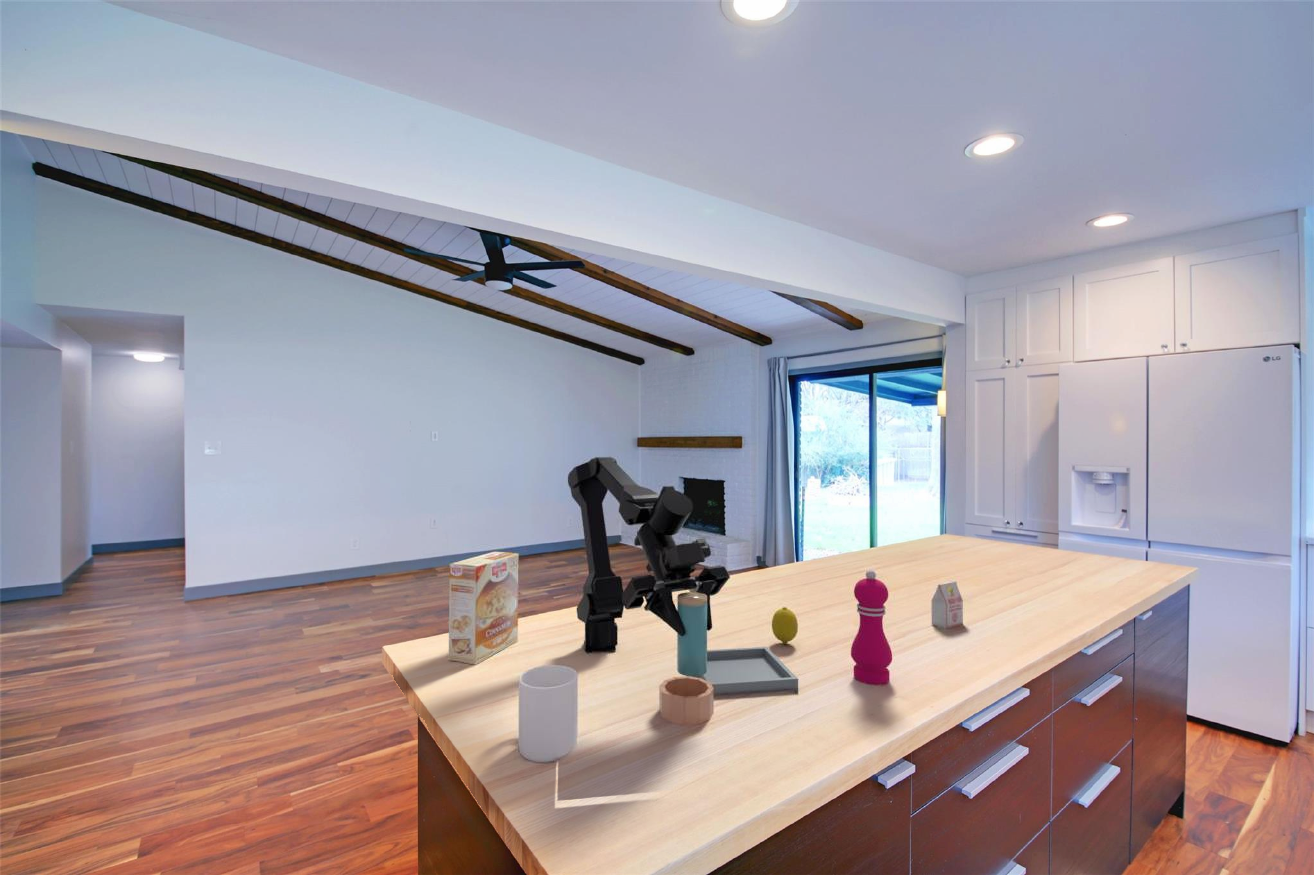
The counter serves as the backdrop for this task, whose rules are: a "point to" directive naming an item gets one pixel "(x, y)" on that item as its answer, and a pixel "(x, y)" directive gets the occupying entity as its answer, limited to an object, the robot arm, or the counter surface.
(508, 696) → the counter surface
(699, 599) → the spice jar
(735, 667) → the tray
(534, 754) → the mug
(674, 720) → the terracotta cup
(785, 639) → the lemon
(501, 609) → the coffeecake box
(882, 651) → the pepper mill
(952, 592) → the milk carton
